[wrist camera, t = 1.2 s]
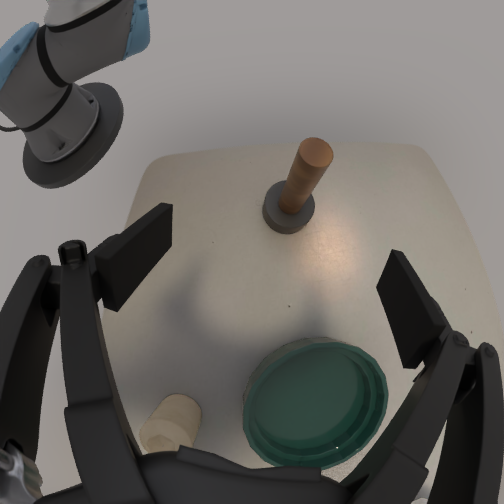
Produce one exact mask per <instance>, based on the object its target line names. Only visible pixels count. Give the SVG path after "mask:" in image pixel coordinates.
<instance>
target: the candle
mask: <svg viewBox="0 0 504 504" xmlns="http://www.w3.org/2000/svg"><path fill="white" fill-rule="evenodd" d="M201 418H202V415H201V410H200V407H199V405H198V404H197V403H196V402H195V401H194V400H193V399H191V398H190V397H188V396H185V395H181V394H174V395H170V396H168V397H166V398H165V399H164V400H163V401H162V402H161V403H160V405H159V406H158V407H157V408H156V410H155V411H154V412H153V413H152V415H151V416H150V417H149V419H148V420H147V421H146V422H145V424H144V425H143V426H142V428H141V429H140V434H139V437H140V441H141V444H142V446H143V447H144V449H145V450H146V451H147V452H148V453H153V452H159V451H178V449H179V446H180V445H184V446H187V447H191V448H192V447H193V444H194V441H195V438H196V435H197V432H198V429H199V425H200V422H201Z"/></svg>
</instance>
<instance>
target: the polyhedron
mask: <svg viewBox="0 0 504 504" xmlns="http://www.w3.org/2000/svg"><path fill="white" fill-rule="evenodd" d="M427 501H428V499H425V498H420V499H418V500H415V501H412V503H411V504H427Z"/></svg>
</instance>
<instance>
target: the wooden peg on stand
mask: <svg viewBox="0 0 504 504" xmlns="http://www.w3.org/2000/svg"><path fill="white" fill-rule="evenodd" d="M332 160H333V151H332V149H331V147H330V146H329V144H328V143H327V142H325V141H324V140H321V139H319V138H307V139H305V140H304V141H302V142H301V144H300V146H299V149H298V151H297V154H296V156H295V159H294V162H293V164H292V167H291V169H290V172H289V175H288V177H287V180H286V181H281V182H278V183H276V184H274V185H273V186H272V187H271V188H270V189H269V190H268V192H267V194H266V197H265V201H264V205H263V216H264V219H265V221H266V223H267V224H268V225H269V226H270V227H271V228H272V229H273V230H275V231H277V232H279V233H283V234H292V233H295V232H298V231H299V230H301V229H302V228H303V227H304V226H305V225H306V224H307V223H308V221H309V220H310V219H311V217H312V216H313V213H314V209H315V203H314V199H313V196H312V194H311V193H312V191H313V190H314V188H315V187H316V185H317V184H318V182H319V180H320V179H321V177H322V176H323V174H324V173H325V171H326V170H327V168H328V167H329V165H330V163H331V162H332Z"/></svg>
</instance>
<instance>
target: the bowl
mask: <svg viewBox="0 0 504 504" xmlns="http://www.w3.org/2000/svg"><path fill="white" fill-rule="evenodd" d="M387 402H388V388H387V383H386V377H385V374H384V373H383V371H382V370H381V368H380V366H379V365H378V363H377V361H376V360H375V359H374V358H373V357H371V356H370V355H369V354H367V353H366V352H365V351H363V350H362V349H361V348H359V347H356V346H353V345H351V344H348V343H345V342H342V341H338V340H335V339H331V338H328V337H320V338H304V339H301V340H298V341H295V342H292V343H289V344H286V345H283V346H282V347H280V348H279V349H277V350H276V351H275V352H273V353H272V354H270V355H269V356H267V357H266V358H265V359H264V360H263V361H262V362H261V363H260V365H259V366H258V367H257V368H256V370H255V371H254V372H253V373H252V374H251V376H250V378H249V381H248V383H247V386H246V389H245V391H244V394H243V430H244V432H245V435H246V437H247V440H248V442H249V445H250V447H251V448H252V449H253V450H254V451H255V452H256V453H257V454H258V455H259V456H260V457H261V458H262V459H263V460H264V461H265V462H267V463H269V464H271V465H273V466H275V467H280V466H301V467H321V470H325V469H328V468H331V467H333V466H336V465H338V464H341V463H343V462H345V461H347V460H348V459H350V458H351V457H352V456H354V455H355V454H357V453H358V452H359V451H361V450H362V449H363V448H364V447H365V446H366V445H367V444H368V442H369V441H370V440H371V439H372V438H373V437H374V435H375V434H376V432H377V431H378V429H379V427H380V425H381V423H382V421H383V419H384V416H385V414H386V409H387Z"/></svg>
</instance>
